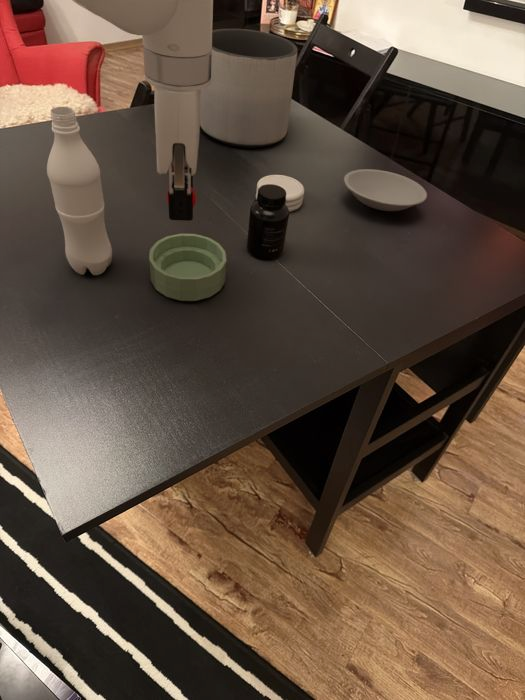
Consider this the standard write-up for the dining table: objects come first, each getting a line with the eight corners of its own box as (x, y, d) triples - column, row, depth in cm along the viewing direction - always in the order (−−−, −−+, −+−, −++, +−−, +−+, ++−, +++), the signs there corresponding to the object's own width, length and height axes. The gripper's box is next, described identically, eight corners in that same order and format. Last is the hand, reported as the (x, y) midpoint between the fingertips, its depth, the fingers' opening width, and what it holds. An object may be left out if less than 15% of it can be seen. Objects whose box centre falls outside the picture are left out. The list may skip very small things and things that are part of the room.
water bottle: (123, 265, 81) (103, 111, 63) (91, 285, 77) (60, 127, 59) (92, 248, 83) (64, 96, 65) (59, 268, 79) (20, 109, 61)
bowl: (149, 303, 76) (147, 278, 72) (153, 256, 84) (151, 232, 80) (226, 304, 77) (228, 279, 74) (222, 258, 86) (224, 234, 82)
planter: (212, 107, 132) (215, 22, 118) (292, 123, 131) (304, 38, 116) (187, 140, 117) (186, 46, 102) (278, 158, 115) (290, 65, 101)
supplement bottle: (240, 242, 90) (245, 182, 81) (273, 237, 92) (282, 178, 83) (254, 264, 85) (261, 203, 77) (289, 258, 88) (299, 198, 79)
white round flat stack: (255, 186, 104) (257, 171, 102) (300, 191, 105) (303, 176, 103) (255, 211, 98) (257, 195, 95) (303, 215, 98) (306, 200, 96)
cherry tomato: (166, 218, 66) (165, 189, 63) (167, 202, 68) (166, 174, 65) (196, 219, 66) (196, 191, 63) (196, 203, 69) (196, 176, 66)
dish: (418, 199, 108) (426, 179, 105) (419, 233, 99) (428, 211, 95) (342, 184, 110) (347, 163, 106) (335, 215, 100) (340, 193, 96)
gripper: (148, 40, 59) (157, 179, 72) (138, 90, 48) (150, 244, 61) (209, 46, 60) (206, 182, 73) (213, 95, 49) (209, 245, 62)
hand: (181, 208), depth 67 cm, fingers closed on cherry tomato, 3 cm apart
